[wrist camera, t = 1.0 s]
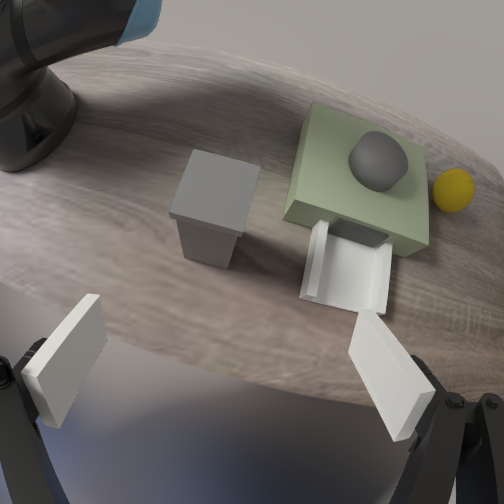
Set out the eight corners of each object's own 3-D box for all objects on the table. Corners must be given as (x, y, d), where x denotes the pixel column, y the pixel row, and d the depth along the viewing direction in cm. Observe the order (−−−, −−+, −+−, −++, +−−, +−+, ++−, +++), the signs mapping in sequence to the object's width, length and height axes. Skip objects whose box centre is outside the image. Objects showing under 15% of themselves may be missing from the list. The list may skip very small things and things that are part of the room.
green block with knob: (398, 322, 32) (442, 313, 25) (266, 290, 31) (286, 272, 24) (405, 166, 39) (436, 136, 32) (301, 126, 38) (320, 84, 31)
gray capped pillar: (228, 273, 31) (243, 232, 20) (181, 260, 31) (168, 211, 20) (241, 227, 33) (261, 166, 22) (195, 214, 33) (193, 148, 21)
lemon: (444, 188, 40) (477, 163, 32) (452, 222, 38) (489, 200, 31) (418, 183, 39) (451, 154, 31) (426, 219, 37) (463, 194, 30)
